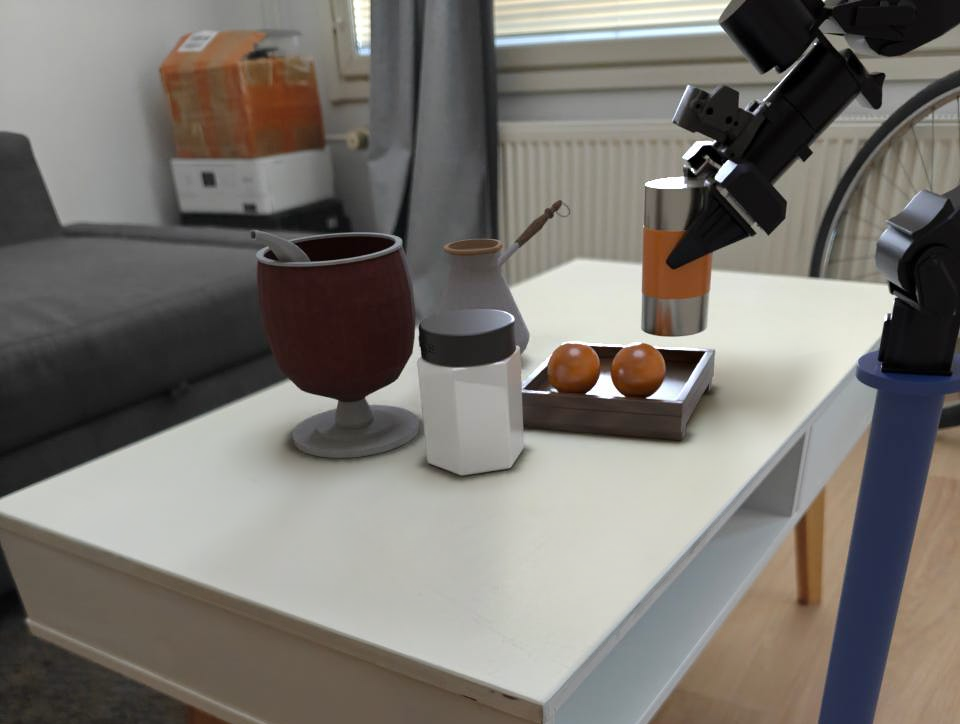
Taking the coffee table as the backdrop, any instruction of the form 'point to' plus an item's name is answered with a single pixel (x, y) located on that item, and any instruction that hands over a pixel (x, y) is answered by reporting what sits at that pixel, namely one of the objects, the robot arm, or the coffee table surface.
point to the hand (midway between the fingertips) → (662, 258)
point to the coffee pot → (487, 275)
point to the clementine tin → (666, 292)
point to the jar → (471, 390)
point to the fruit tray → (617, 389)
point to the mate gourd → (340, 333)
